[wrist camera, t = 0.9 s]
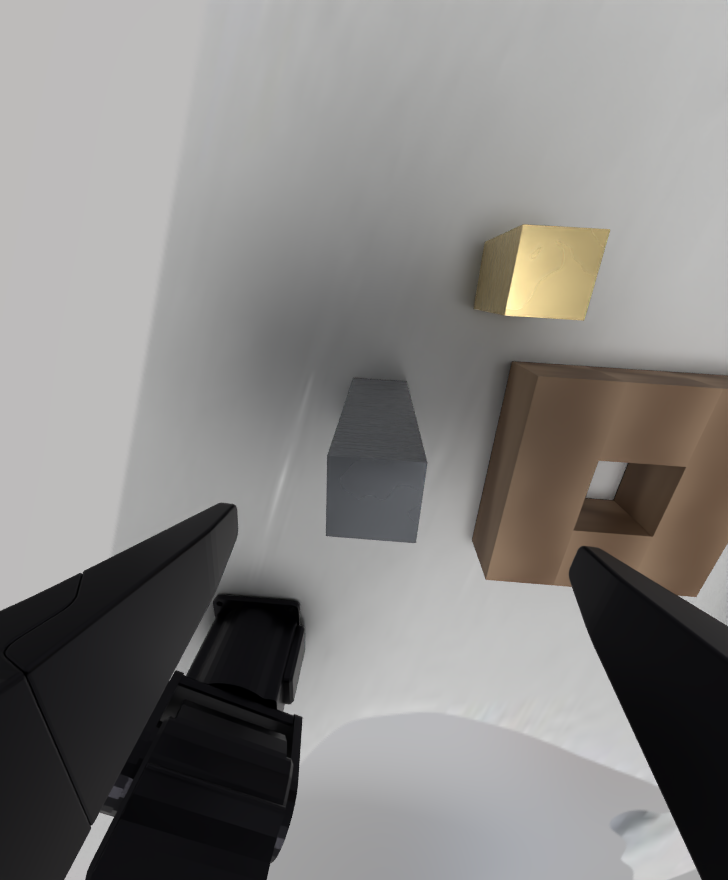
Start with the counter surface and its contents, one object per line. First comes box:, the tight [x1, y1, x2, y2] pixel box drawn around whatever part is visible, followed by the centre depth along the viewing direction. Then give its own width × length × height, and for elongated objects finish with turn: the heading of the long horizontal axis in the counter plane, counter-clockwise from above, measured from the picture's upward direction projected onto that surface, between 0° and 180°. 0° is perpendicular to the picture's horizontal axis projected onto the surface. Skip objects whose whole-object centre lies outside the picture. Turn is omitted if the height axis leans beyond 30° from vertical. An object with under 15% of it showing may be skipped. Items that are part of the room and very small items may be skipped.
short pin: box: [474, 225, 610, 320], centre depth 15 cm, size 3×3×5 cm
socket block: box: [472, 361, 728, 597], centre depth 20 cm, size 12×12×4 cm
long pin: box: [326, 378, 427, 543], centre depth 16 cm, size 3×3×10 cm
